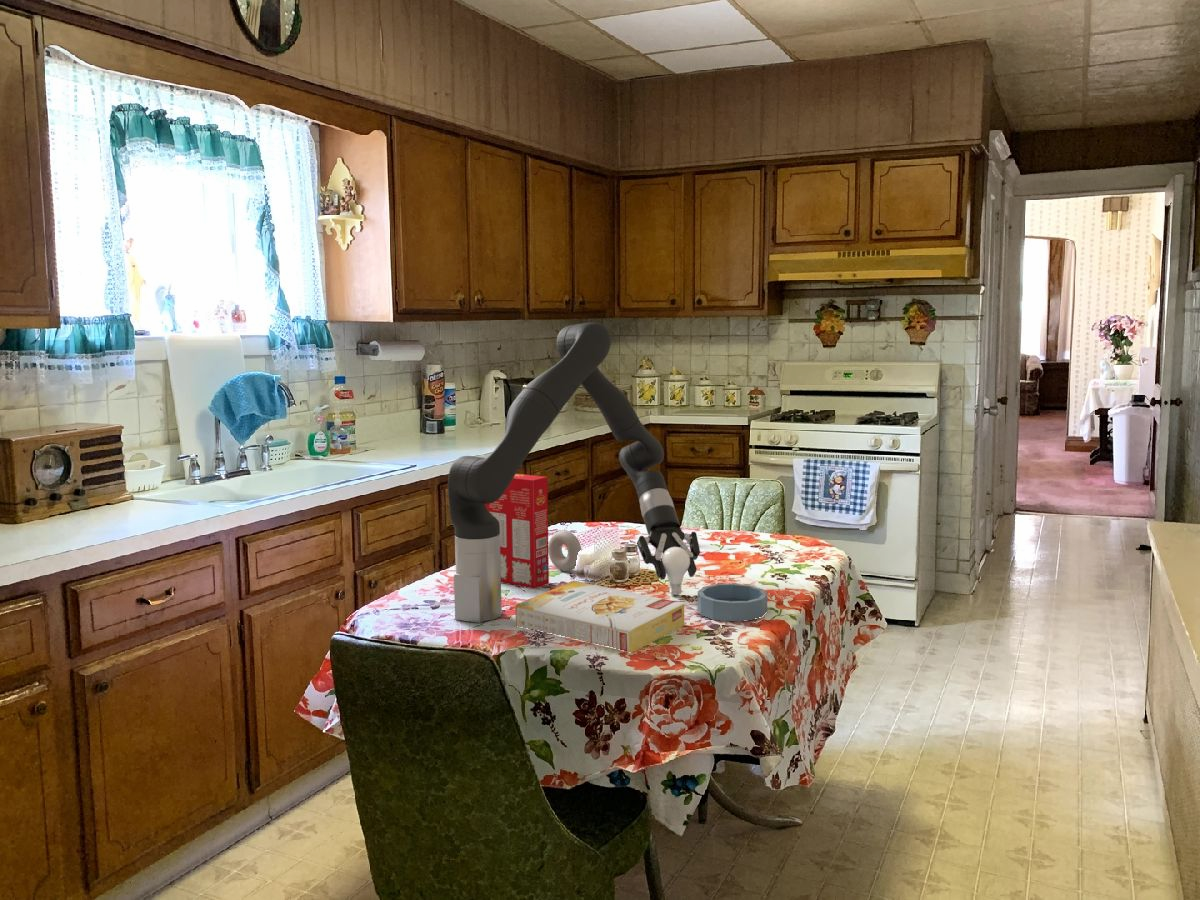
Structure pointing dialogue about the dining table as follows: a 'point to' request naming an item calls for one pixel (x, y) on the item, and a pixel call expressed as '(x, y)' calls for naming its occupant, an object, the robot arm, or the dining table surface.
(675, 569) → the lightbulb
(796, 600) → the dining table surface
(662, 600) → the cereal box
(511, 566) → the food packaging
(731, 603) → the bowl
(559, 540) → the donut
